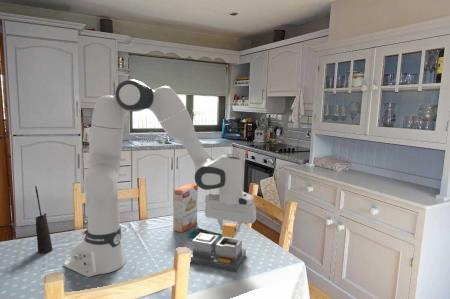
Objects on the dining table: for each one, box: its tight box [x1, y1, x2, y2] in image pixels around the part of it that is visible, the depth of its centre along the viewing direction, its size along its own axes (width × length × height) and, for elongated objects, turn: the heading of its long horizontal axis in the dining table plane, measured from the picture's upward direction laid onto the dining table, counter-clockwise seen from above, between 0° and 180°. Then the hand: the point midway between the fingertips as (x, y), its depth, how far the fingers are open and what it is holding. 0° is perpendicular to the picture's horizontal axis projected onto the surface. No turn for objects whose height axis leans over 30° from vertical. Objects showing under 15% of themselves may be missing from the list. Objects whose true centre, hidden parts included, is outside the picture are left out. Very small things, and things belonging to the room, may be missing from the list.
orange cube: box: [221, 222, 238, 238], centre depth 121 cm, size 4×4×4 cm
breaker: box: [198, 234, 214, 243], centre depth 126 cm, size 5×5×3 cm
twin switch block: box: [190, 233, 247, 273], centre depth 124 cm, size 20×14×8 cm
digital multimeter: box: [188, 227, 224, 241], centre depth 143 cm, size 8×15×3 cm, turn 59°
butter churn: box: [34, 185, 54, 254], centre depth 128 cm, size 9×10×28 cm
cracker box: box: [172, 183, 199, 233], centre depth 154 cm, size 14×6×21 cm, turn 155°
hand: (229, 230), depth 122 cm, fingers closed on orange cube, 4 cm apart
